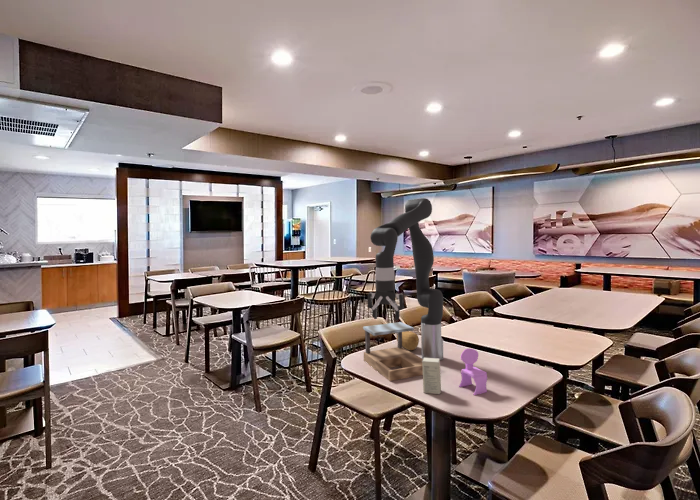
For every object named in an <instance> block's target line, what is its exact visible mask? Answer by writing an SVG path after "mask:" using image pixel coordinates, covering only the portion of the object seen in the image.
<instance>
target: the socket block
mask: <svg viewBox="0 0 700 500" xmlns="http://www.w3.org/2000/svg"><path fill="white" fill-rule="evenodd" d="M362 329H363V330H364V334H365V336H364V337H365V351H363V362H365V361H366V362H367V363H368V364H367V363H366V362H365V363H366V364H367V365H369V366H370V367H371V366H372V367H373V368H372V367H371V368H372V369H374V370H375V371H376V372H377V371H378V372H377V373H379V374H380V375H381V376H383V378H385V379H387V381H389V382H393V381H398V380H402V379H407V378H413V377H419V376H423V367H422V360H423V359H422V357H421V356H418V355H417V354H415V353H414V352H412V351H411V350H408V349H406V348H404V347H402V332H406V331H411V332H414V330H415V327H413V326H410V325H409V324H406V323H404V322H402V321H399V322H397V321H396V322H390V323H384V324H374V325H367V326H365V325H364V326H362ZM388 334H397V335H398V341H397V346H396V347H390V348H389V347H388V348H384V349H377V350H376V349H375V350H371V336H370V335H372V336H375V337H376V336H381V335H388ZM396 367H397V369H392V368H396ZM398 367H400V368H398ZM401 367H402V368H401Z"/></svg>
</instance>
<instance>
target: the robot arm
mask: <svg viewBox="0 0 700 500" xmlns="http://www.w3.org/2000/svg"><path fill="white" fill-rule="evenodd" d="M404 208H405V209H404V213H401V214H399V215H397V216H395V217H394V218H393V219H391V220H390V221H389V222H386V223H384V224H381V225H379V226H377V227H375V228H374V229H373V230H372V232H371V233H370V241H371V243H372V244H373V245H374V246H376V247H384V249H383V251H379V252H377V253H376V254H375V274H374V275H375V276H374V277H375V292H371V291H370V292H368V294H367V309H371V310H372V318H373V319H374V320H377V319H378V309H377V308H378V306H379V305H390V306H392V308H393V309H394V319H395V321H398V320H399V319H400V311H401V310H403V309H405V302H404V301H405V300H404V293H402V292H401V293H396V290H395V289H396V285H395V283H396V280H395V278H396V277H395V275H396V274H395V268H394V267H395V266H394V264H395V263H394V257H395V256H394V255H395V252H396V247H397V244H398V237H399V236H401V235H402V234H403V233H404V232H405V231H407V230H408V231H409V235H410V242H411V250H412V252H411V253H412V257H413V264H414V270H415V271H414V272H415V279H416V280H415V282H416V283H415V285H416V298H417V299H416V300H417V302H418V305H420V306H421V307H423V308H427V314H424V315H422V316H421V318H420V328H421V329H420V330H421V331H420V332H421V333H420V334H421V335H420V336H421V337H420V338H421V339H420V341H421V345H420V346H421V358H422V359H423V358H439V359H440V361H442V360H444V339H443V338H442V319H443V316H444V294H443V293H442V291H441V290H440V289H436V288H431V287H430V281H429V280H430V279H429V277H430V272H431V271H432V268H433V266H434V262H435V259H434V258H435V257H434V249H433V245H432V243H431V241H430V240H429V239H428V237H426V235H425V234H424V233H423V231H422V229H421V227H420V223H419V222H421V221H423V220H426V219H428V218H429V217H430V216H431V215H432V212H433V205H432V202H431V200H430V199H428V198H424V197H423V198H421V197H420V198H416V199H408V200H407V201H406V202H405V204H404ZM374 298H375V299H376V301H375V303H374V304H373V299H374ZM395 299H397V300H398V301H399V303H398V304H399V305H398V304H397V302H396V300H395Z"/></svg>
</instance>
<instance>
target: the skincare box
mask: <svg viewBox="0 0 700 500" xmlns="http://www.w3.org/2000/svg"><path fill="white" fill-rule="evenodd" d="M422 367H423V375H422V386H423V387H422V388H423V389H422V390H423V393H424V394H433V395H441V391H442V382H441V381H442V380H441V377H442V376H441V360H440V359H439V358H423V360H422Z"/></svg>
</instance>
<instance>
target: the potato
mask: <svg viewBox="0 0 700 500" xmlns="http://www.w3.org/2000/svg"><path fill="white" fill-rule="evenodd" d="M396 341H397V342H398V334H397V335H396ZM419 342H420V338H419V335H417V333H415V332H414V331H405V332H402V347H403V348H404V349H406V350H408V351H414V350H416V349H417V348H418V346H419Z"/></svg>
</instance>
